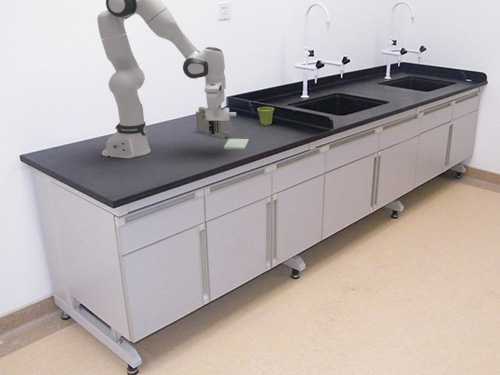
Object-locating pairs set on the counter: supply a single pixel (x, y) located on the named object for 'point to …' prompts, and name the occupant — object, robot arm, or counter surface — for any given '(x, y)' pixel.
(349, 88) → the counter surface
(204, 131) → the geiger counter
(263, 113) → the plant pot
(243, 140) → the green mat
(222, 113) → the connector
